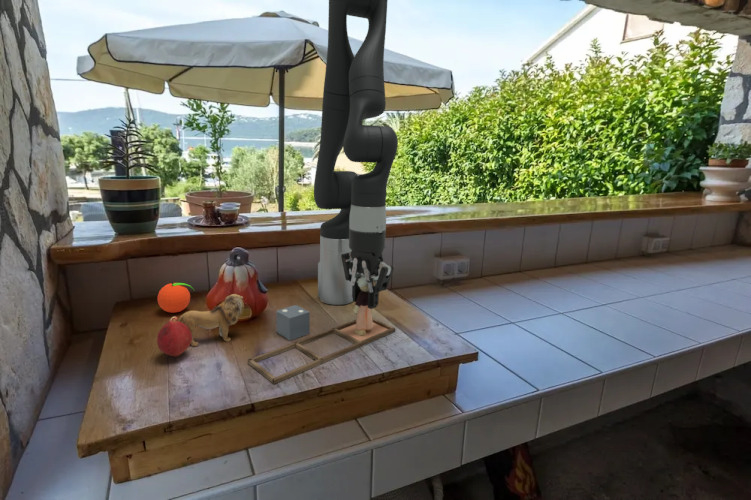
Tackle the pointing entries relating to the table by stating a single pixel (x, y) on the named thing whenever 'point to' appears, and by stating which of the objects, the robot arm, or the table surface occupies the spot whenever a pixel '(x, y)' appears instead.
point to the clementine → (174, 297)
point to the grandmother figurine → (363, 309)
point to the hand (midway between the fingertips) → (364, 304)
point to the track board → (343, 331)
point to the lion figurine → (215, 317)
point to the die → (293, 322)
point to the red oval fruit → (174, 337)
